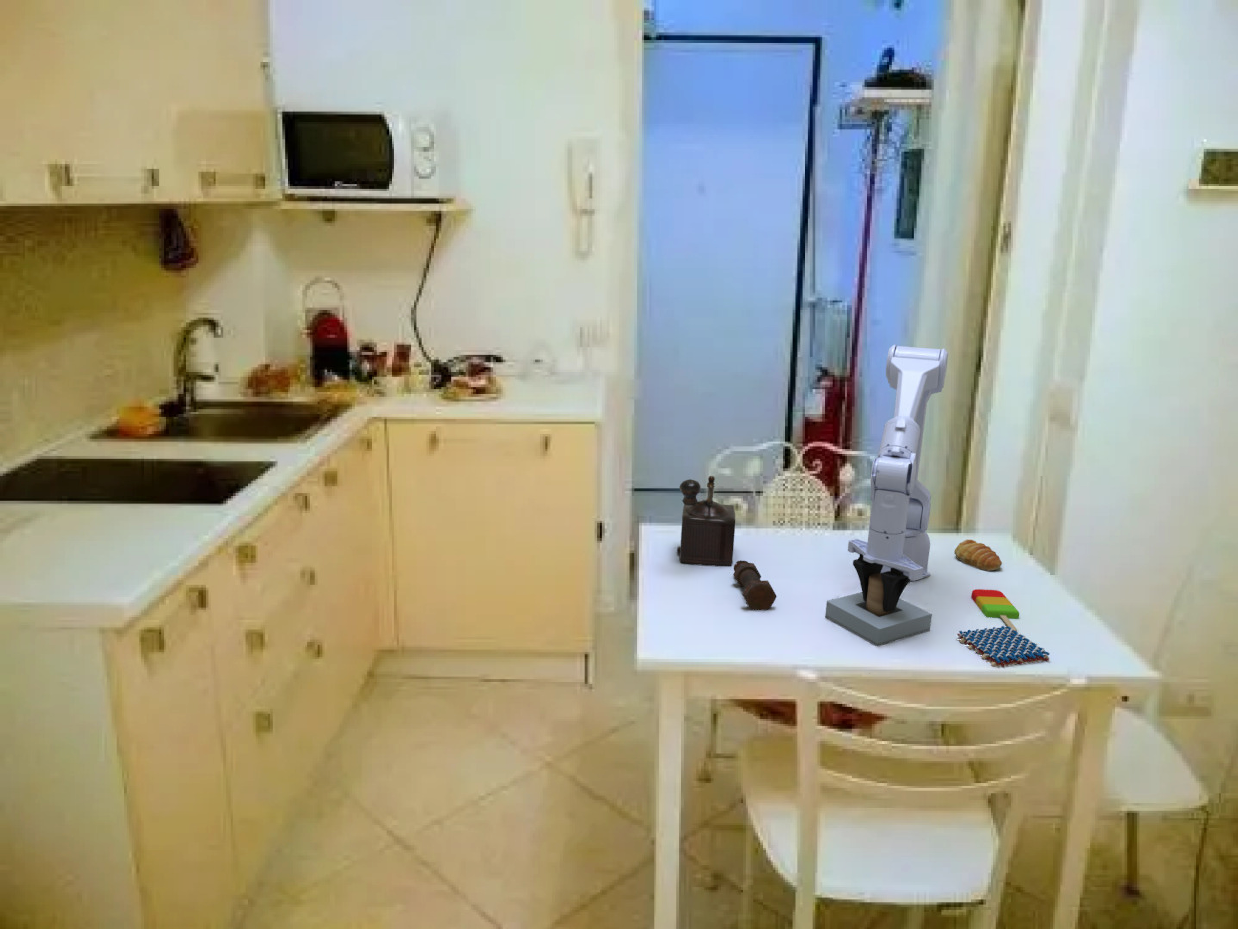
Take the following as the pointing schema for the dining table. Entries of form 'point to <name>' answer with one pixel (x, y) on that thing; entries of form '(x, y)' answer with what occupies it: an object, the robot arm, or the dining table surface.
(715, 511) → the manual coffee grinder
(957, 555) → the pastry
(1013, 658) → the woven mat
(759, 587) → the bolt
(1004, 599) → the popsicle
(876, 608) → the peg
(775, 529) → the dining table surface
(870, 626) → the socket block
